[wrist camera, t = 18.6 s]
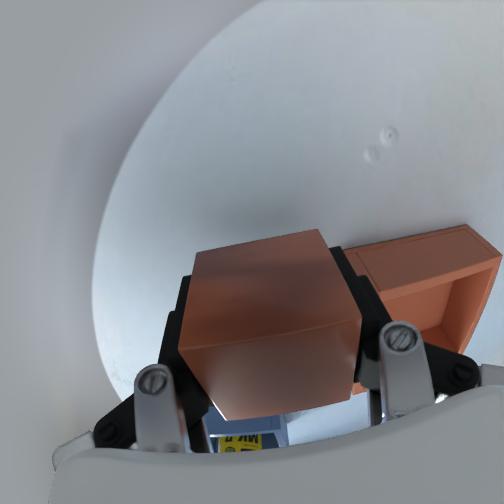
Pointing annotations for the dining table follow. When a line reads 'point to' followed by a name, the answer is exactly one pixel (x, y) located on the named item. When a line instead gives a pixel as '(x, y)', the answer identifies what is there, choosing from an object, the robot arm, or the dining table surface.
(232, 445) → the supplement bottle
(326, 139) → the dining table surface
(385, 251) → the terracotta bin
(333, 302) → the block
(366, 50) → the dining table surface
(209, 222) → the dining table surface
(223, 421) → the blue bin
